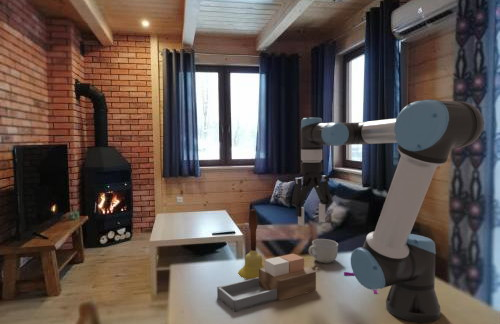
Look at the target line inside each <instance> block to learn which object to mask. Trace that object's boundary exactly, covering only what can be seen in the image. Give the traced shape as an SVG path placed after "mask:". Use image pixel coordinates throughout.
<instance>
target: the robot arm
mask: <svg viewBox="0 0 500 324" xmlns="http://www.w3.org/2000/svg"><path fill="white" fill-rule="evenodd" d="M300 124H301V125H300V160H301V161H302V162H300V171H301V172H300V173H301V177H295V178H294V187H293V193H292V199H291V206H292V207H295V208H296V209H295V211H296V217H297V225H298V226H301V227H304V226H305V207H303V206H304V203H305V200H306V198H307V196H308V192H309V191H310V190H311V188H313V189H314V190H315V193H316V194H317V195H316V196H318V199H319V202H320V203H318V222H321V223H326V213H327V206H328V205H330V202H332V197H331V193H330V192H331V191H330V185H329V175H322V172H323V162H322V160H323V146H329V147H330V146H331V147H338V146H349V145H369V144H370V145H373V144H375V145H376V144H395V143H397V146H396V150H397V151H398V153H399V155H400V157H399V160H398V164H397V167H396V168H395V169H396V170H395V172H394V174H393V177H392V180H391V183H390V187H389V189H388V193H387V194H386V195H387V196H386V197H385V201H384V202H383V206H382V209H381V211H380V214H379V215H380V216H379V218H378V221H377V223H376V226H375V229H374V231H371V232H369V233H367V235H366V237H365V239H364V243H363V245H362V247H360V246H359V247H357V248H355V249H354V250H352V253H351V255H350V266H351V267H350V268H351V270H352V273H354V275H355V276H354V277H355V279H356V280H357V282H358V283H359V284H360V285H361V286H363V287H364V288H366V289H368V290H372V291H373V290H374V289H376V290H382V289H384V288H387V287H390V289H389V291H388V294H387V296H386V299H385V308H386V310H387V312H388V313H390V314H391V315H393V316H394V317H396V318H399V319H402V320H405V321H408V322H414V323H432V322H435V321H438V320H439V319H440V318H441V305H440V303H439V300H438V295H437V292H436V289H435V284H436V283H435V280H436V277H435V276H436V254H437V252H436V243H435V241H434V240H432V238H429V237H426V236H423V235H419V234H413V233H411V232H412V230H413V227H414V225H415V222H416V220H417V218H418V215H419V212H420V211H421V207H422V205H423V202H424V200H425V197H426V194H427V192H428V189H429V187H430V185H431V182H432V180H433V177H434V174H435V173H436V170H437V168H438V167H440V166H443V165H445V164H446V163H447V161H448V158H449V157H450V154H451V151H452V149H460V148H464V147H468V146H470V145H472V144H474V143H475V142H476V141H477V140H478V139H479V137H480V136H481V134H482V132H483V129H484V118H483V115H482V113H481V112H480V110H479V109H478V108H477V107H476V106H475V105H473V104H472V103H469V102H465V101H461V100H438V99H437V100H436V99H424V100H417V101H413V102H411V103H409V104H407V105H406V106H404V107H403V108H402V109H401V111H400V112H399V113H398V115H397V117H395V118H394V117H393V118H387V119H379V120H378V119H377V120H370V121H369V120H368V121H362V122H359V121H358V122H339V121H338V122H337V121H335V122H334V121H332V122H323V119H322V118H321V117H303V118H302V119H301V122H300Z"/></svg>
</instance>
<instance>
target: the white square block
mask: <svg viewBox="0 0 500 324" xmlns="http://www.w3.org/2000/svg"><path fill="white" fill-rule="evenodd" d="M264 267H265V272H267V273H269V274H271V275H272V276H274V277H275V276H279V275H283V274H287V273H289V261H287V260H285V259H282V258H280V256H276V257H271V258H267V259H264Z"/></svg>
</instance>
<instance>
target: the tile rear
mask: <svg viewBox="0 0 500 324" xmlns="http://www.w3.org/2000/svg"><path fill="white" fill-rule="evenodd" d="M279 257H280V258H282V259H285V260H287V261H289V272H290V273H291V272H295V271H299V270H303V269H304V266H305V258H304V257H303V256H300V255H299V254H298V255H297V254H295V253H289V254H284V255H281V256H279Z"/></svg>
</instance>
